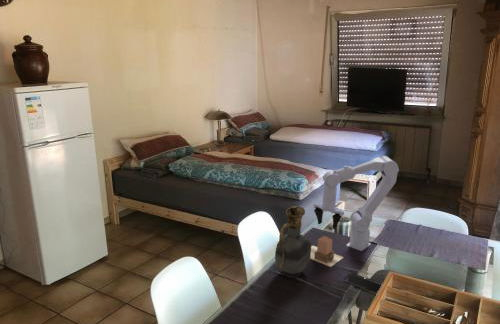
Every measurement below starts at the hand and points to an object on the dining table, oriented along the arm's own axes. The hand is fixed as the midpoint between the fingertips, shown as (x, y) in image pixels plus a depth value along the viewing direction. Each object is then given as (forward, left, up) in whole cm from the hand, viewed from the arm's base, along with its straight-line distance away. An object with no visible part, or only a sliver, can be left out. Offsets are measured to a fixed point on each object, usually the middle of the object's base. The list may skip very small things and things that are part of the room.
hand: (327, 226), depth 184 cm
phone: (+17, +28, -11) cm, 34 cm away
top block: (+11, +6, -7) cm, 14 cm away
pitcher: (+31, +2, -11) cm, 33 cm away
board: (+10, +4, -10) cm, 15 cm away
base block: (+11, +6, -10) cm, 15 cm away
